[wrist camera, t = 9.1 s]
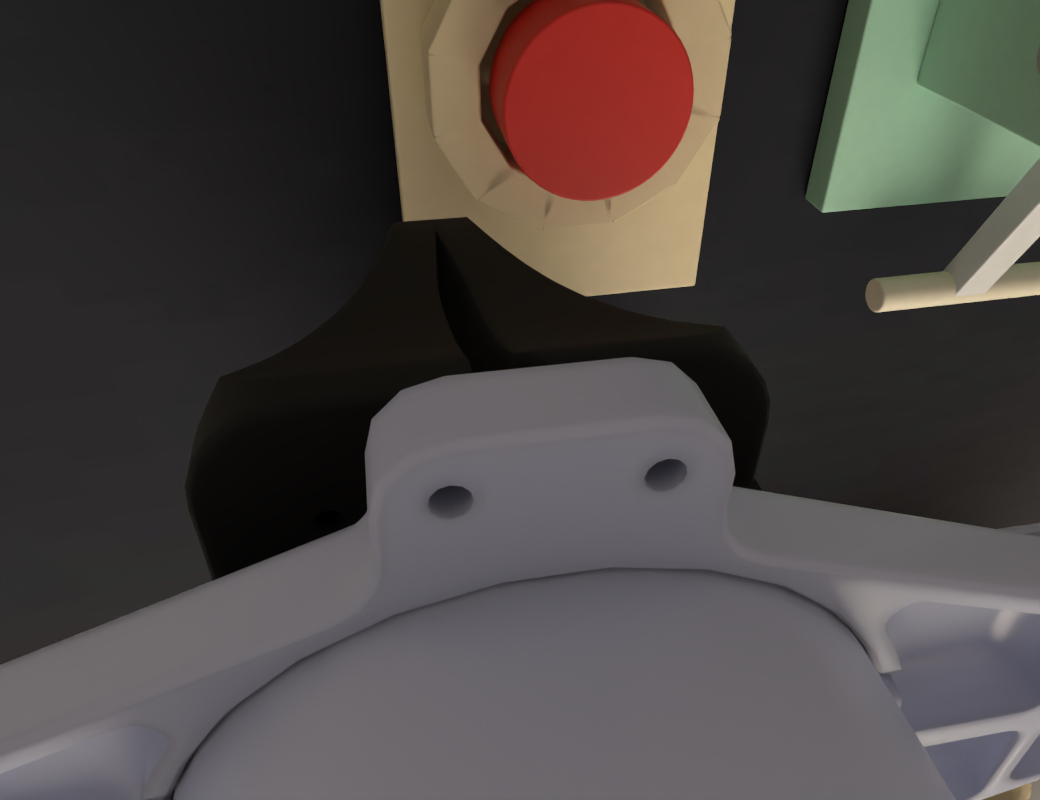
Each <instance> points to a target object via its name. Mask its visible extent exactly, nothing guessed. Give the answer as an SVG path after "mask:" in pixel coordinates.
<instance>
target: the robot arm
mask: <svg viewBox="0 0 1040 800" xmlns="http://www.w3.org/2000/svg"><path fill="white" fill-rule="evenodd" d="M769 407H770V398H769V394H768V390H767V386H766V383H765V380H764V379H763V377H762V376H761V374H760V373H759V372H758V370H757V369H756V368H755V366H754V364H753V363H752V361H751V360H750V358H749V357H748V355H747V354H746V353H745V351H744V350H743V348H742V347H741V346H740V345H739V343H738V342H737V341H736V340H735V338H734V337H733V336H732V335H731V334H730V333H729V332H728V330H727V329H726V328H725V327H720V326H712V325H703V324H694V323H686V322H677V321H671V320H666V319H661V318H656V317H652V316H647V315H642V314H638V313H635V312H631V311H627V310H623V309H620V308H617V307H614V306H611V305H608V304H605V303H602V302H599V301H597V300H594V299H591V298H589V297H586V296H584V295H582V294H579V293H577V292H575V291H573V290H571V289H569V288H567V287H565V286H563V285H561V284H559V283H557V282H555V281H553V280H551V279H549V278H548V277H546V276H544V275H543V274H541V273H540V272H538V271H536V270H535V269H533V268H532V267H530V266H528V265H527V264H525V263H524V262H523V261H521V260H520V259H518V258H517V257H515V256H514V255H513V254H511V253H510V252H509V251H507V250H506V249H505V248H504V247H502V246H501V245H500V244H499V243H497V242H496V241H495V240H494V239H492V238H491V237H490V236H489V235H488V234H486V233H485V232H484V231H483V230H482V229H481V228H479V227H478V226H477V225H476V224H475V223H474V222H472V221H471V220H470V219H469V218H468V217H459V218H445V219H431V220H418V221H404V222H394V223H393V224H392V225H391V226H390V227H389V229H388V233H387V237H386V239H385V242H384V244H383V247H382V249H381V251H380V253H379V255H378V257H377V258H376V260H375V262H374V264H373V266H372V267H371V269H370V271H369V272H368V274H367V276H366V277H365V278H364V280H363V281H362V283H361V284H360V285H359V287H358V288H357V290H356V291H355V292H354V294H353V295H352V296H351V297H350V299H349V300H348V301H347V302H346V303H345V305H344V306H343V307H342V308H341V309H340V310H339V311H338V312H337V313H336V314H335V315H334V316H333V317H332V318H330V319H329V320H328V321H326V322H325V323H324V324H322V325H321V326H320V327H319V328H317V329H316V330H315V331H313V332H312V333H311V334H309V335H308V336H307V337H305V338H304V339H302V340H301V341H299V342H297V343H296V344H294V345H292V346H291V347H289V348H287V349H285V350H283V351H281V352H280V353H278V354H276V355H274V356H272V357H270V358H268V359H265V360H263V361H261V362H259V363H256V364H253V365H251V366H248V367H246V368H243V369H241V370H238V371H235V372H233V373H230V374H227V375H224V376H221V377H220V378H219V379H218V381H217V383H216V386H215V388H214V390H213V392H212V395H211V397H210V399H209V401H208V404H207V406H206V408H205V411H204V413H203V415H202V418H201V420H200V423H199V426H198V429H197V432H196V435H195V439H194V443H193V448H192V453H191V458H190V463H189V468H188V474H187V479H186V484H185V490H186V497H187V503H188V510H189V513H190V516H191V519H192V521H193V524H194V527H195V530H196V533H197V536H198V539H199V542H200V545H201V547H202V550H203V553H204V556H205V559H206V562H207V565H208V568H209V571H210V573H211V576H212V579H213V581H211V582H208V583H205V584H203V585H200V586H198V587H195V588H193V589H190V590H188V591H185V592H183V593H180V594H178V595H175V596H173V597H170V598H168V599H165V600H163V601H160V602H158V603H155V604H153V605H150V606H148V607H145V608H142V609H140V610H137V611H135V612H132V613H130V614H127V615H125V616H122V617H120V618H117V619H115V620H112V621H110V622H107V623H105V624H102V625H100V626H97V627H95V628H92V629H90V630H87V631H85V632H82V633H79V634H77V635H74V636H72V637H69V638H67V639H64V640H62V641H59V642H57V643H54V644H52V645H49V646H47V647H44V648H42V649H39V650H37V651H34V652H32V653H29V654H27V655H24V656H22V657H19V658H17V659H14V660H11V661H9V662H6V663H4V664H1V665H0V800H982V799H985V798H988V797H991V796H994V795H997V794H1000V793H1003V792H1005V791H1008V790H1011V789H1014V788H1017V787H1020V786H1023V785H1025V784H1028V783H1031V782H1034V781H1037V780H1040V523H1036V524H1029V525H1022V526H1015V527H1008V528H1001V529H992V528H986V527H979V526H973V525H967V524H961V523H955V522H949V521H943V520H937V519H930V518H924V517H918V516H912V515H906V514H900V513H894V512H888V511H881V510H875V509H869V508H863V507H857V506H851V505H845V504H839V503H832V502H826V501H820V500H814V499H808V498H802V497H796V496H790V495H783V494H777V493H771V492H765V491H762V490H761V488H760V486H759V485H758V483H757V481H756V480H755V478H754V477H755V473H756V469H757V464H758V460H759V456H760V452H761V448H762V444H763V440H764V436H765V432H766V428H767V424H768V418H769Z"/></svg>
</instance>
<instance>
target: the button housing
mask: <svg viewBox="0 0 1040 800" xmlns="http://www.w3.org/2000/svg"><path fill="white" fill-rule="evenodd" d="M532 1H534V0H380V7H381V17H382V26H383V36H384V46H385V55H386V65H387V75H388V84H389V94H390V104H391V113H392V123H393V133H394V142H395V152H396V162H397V171H398V181H399V191H400V200H401V210H402V220H403V222H404V221H418V220H431V219H445V218H459V217H468V218H469V219H470V220H471V221H472V222H474V223H475V224H476V225H477V226H478V227H479V228H481V229H482V230H483V231H484V232H485V233H486V234H488V235H489V236H490V237H491V238H492V239H494V240H495V241H496V242H497V243H499V244H500V245H501V246H502V247H504V248H505V249H506V250H507V251H509V252H510V253H511V254H513V255H514V256H515V257H517V258H518V259H520V260H521V261H523V262H524V263H525V264H527V265H528V266H530V267H532V268H533V269H535V270H536V271H538V272H540V273H541V274H543V275H544V276H546V277H548V278H549V279H551V280H553V281H555V282H557V283H559V284H561V285H563V286H565V287H567V288H569V289H571V290H573V291H575V292H577V293H579V294H582V295H584V296H595V295H605V294H615V293H625V292H635V291H645V290H655V289H665V288H675V287H685V286H693V285H695V281H696V274H697V267H698V260H699V253H700V246H701V238H702V231H703V224H704V217H705V210H706V203H707V196H708V189H709V182H710V175H711V168H712V161H713V154H714V147H715V140H716V133H717V126H718V121H719V120H720V118H719V116H720V114H721V108H722V101H723V94H724V87H725V80H726V73H727V66H728V59H729V52H730V45H731V27H732V20H733V13H734V6H735V0H637V1H638V2H640V3H641V4H643V5H644V6H646V7H647V8H648V9H650V10H651V11H653V12H654V13H655V14H657V15H658V16H659V17H661V18H662V19H663V20H665V21H666V22H667V23H668V24H669V25H670V26H671V28H672V29H673V30H674V31H675V32H676V34H677V35H678V37H679V38H680V39H681V41H682V43H683V45H684V47H685V49H686V51H687V54H688V57H689V60H690V63H691V68H692V73H693V82H694V96H693V105H692V111H691V116H690V119H689V122H688V126H687V128H686V131H685V133H684V135H683V138H682V140H681V142H680V143H679V145H678V147H677V149H676V150H675V152H674V153H673V154H672V156H671V157H670V159H669V160H668V161H667V162H666V163H665V165H664V166H663V167H662V168H661V169H660V170H659V171H658V172H657V173H656V174H654V175H653V176H652V177H651V178H650V179H649V180H647V181H646V182H644V183H643V184H641V185H640V186H638V187H636V188H635V189H633V190H631V191H629V192H627V193H624V194H622V195H619V196H616V197H612V198H609V199H603V200H597V201H580V200H571V199H567V198H563V197H560V196H557V195H555V194H552V193H550V192H548V191H546V190H545V189H543V188H541V187H540V186H538V185H537V184H536V183H535V182H533V181H532V180H531V179H530V178H529V177H528V176H527V175H526V174H525V173H524V172H523V171H522V169H521V168H520V166H519V165H518V164H517V162H516V161H515V159H514V157H513V155H512V153H511V151H510V149H509V147H508V145H507V143H506V141H505V139H504V137H503V135H502V132H501V130H500V128H499V126H498V124H497V122H496V119H495V116H494V113H493V109H492V105H491V99H490V73H491V67H492V62H493V59H494V55H495V52H496V49H497V47H498V45H499V42H500V40H501V38H502V36H503V34H504V33H505V31H506V29H507V28H508V26H509V25H510V24H511V22H512V21H513V20H514V18H515V17H516V16H517V15H518V14H519V13H520V12H521V11H522V10H523V9H524V8H525V7H526V6H527V5H529V4H530V3H531V2H532Z"/></svg>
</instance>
